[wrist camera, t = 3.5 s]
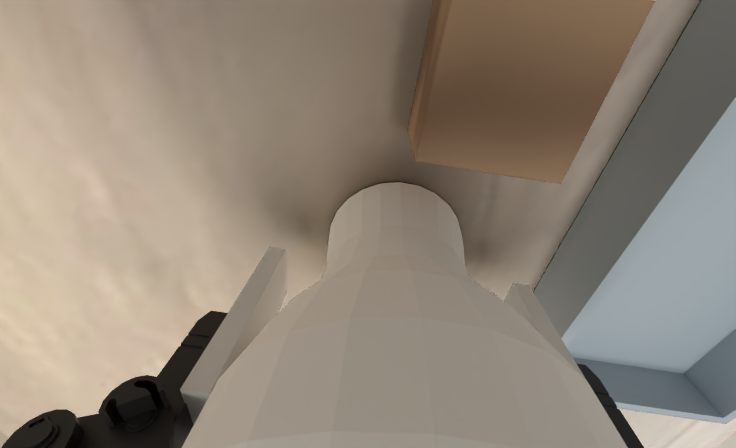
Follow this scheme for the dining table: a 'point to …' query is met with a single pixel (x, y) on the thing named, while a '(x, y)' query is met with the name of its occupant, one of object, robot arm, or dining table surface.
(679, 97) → the tray
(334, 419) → the cup
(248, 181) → the dining table surface
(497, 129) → the walnut cube
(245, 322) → the robot arm
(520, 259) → the dining table surface
